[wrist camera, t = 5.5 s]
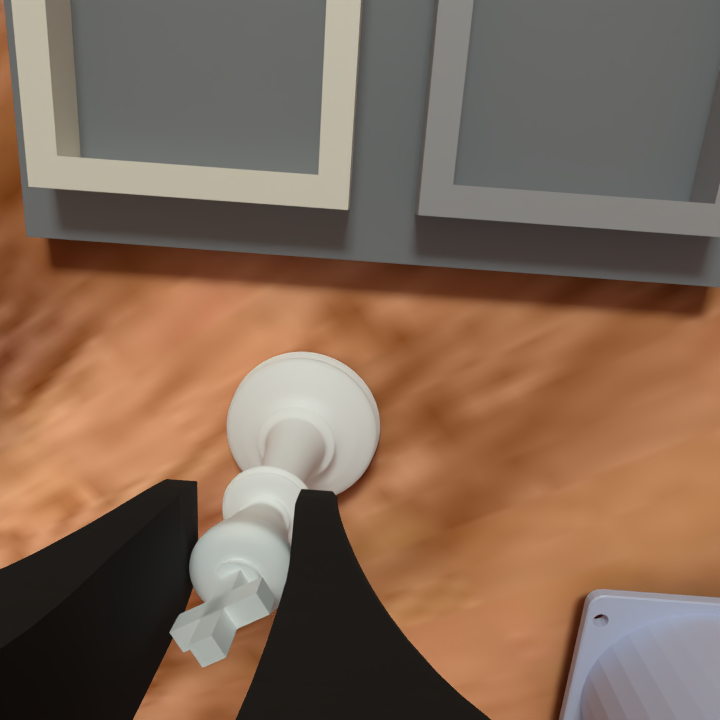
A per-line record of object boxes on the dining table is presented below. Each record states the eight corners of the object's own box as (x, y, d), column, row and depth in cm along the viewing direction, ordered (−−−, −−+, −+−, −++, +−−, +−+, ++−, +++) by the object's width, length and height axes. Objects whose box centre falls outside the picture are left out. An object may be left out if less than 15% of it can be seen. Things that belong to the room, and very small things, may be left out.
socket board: (710, 282, 17) (758, 295, 15) (46, 234, 17) (-1, 239, 15) (820, -165, 14) (902, -231, 12) (6, -224, 14) (-61, -300, 12)
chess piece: (406, 455, 18) (424, 716, 9) (277, 517, 19) (160, 818, 9) (334, 324, 17) (263, 449, 8) (201, 393, 18) (-14, 586, 8)
